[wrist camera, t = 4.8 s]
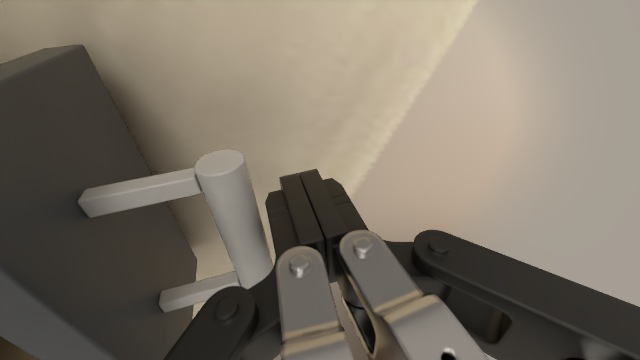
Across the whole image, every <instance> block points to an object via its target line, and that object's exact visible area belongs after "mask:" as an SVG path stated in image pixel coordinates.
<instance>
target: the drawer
mask: <svg viewBox="0 0 640 360" xmlns="http://www.w3.org/2000/svg"><path fill="white" fill-rule="evenodd" d="M201 190H202V191H203V193H204V196H205V198H206V200H207V203H208V205H209V208H210V210H211V213H212V215H213V217H214V220H215V222H216V225H217V227H218V230H219V232H220V235H221V237H222V239H223V242H224V244H225V247H226V249H227V252H228V254H229V256H230V259H231V261H232V264H233V266H234V269H235V271H233V272H229V273H226V274H222V275H218V276H215V277H211V278H207V279H204V280H200V281H197V282H195V281H196V269H197V259H196V257H195V255H194V253H193V251H192V249H191V247H190V246H189V244H188V242H187V240H186V238H185V236H184V234H183V232H182V230H181V229H180V227H179V225H178V223H177V221H176V219H175V217H174V215H173V213H172V212H171V210H170V208H169V206H168V204H167V202H166V201H170V200H174V199H179V198H184V197H188V196H193V195H197V194H201ZM273 267H274V266H273V263H272V259H271V255H270V251H269V248H268V244H267V240H266V236H265V233H264V229H263V225H262V221H261V218H260V214H259V210H258V206H257V203H256V199H255V195H254V191H253V188H252V184H251V180H250V176H249V173H248V169H247V165H246V161H245V158H244V155H243V154H242V153H241V152H240V151H237V150H233V149H222V150H217V151H213V152H210V153H208V154H206V155H204V156H202V157H201V158H200V159H198V160H197V162H196V163H195V165H194V168H189V169H184V170H179V171H174V172H169V173H164V174H159V175H154V176H152V174H151V172H150V170H149V168H148V166H147V164H146V162H145V161H144V159H143V157H142V155H141V153H140V151H139V149H138V147H137V145H136V144H135V142H134V140H133V138H132V136H131V134H130V132H129V130H128V128H127V127H126V125H125V123H124V121H123V119H122V117H121V115H120V113H119V111H118V109H117V108H116V106H115V104H114V102H113V100H112V98H111V96H110V94H109V92H108V91H107V89H106V87H105V85H104V83H103V81H102V79H101V77H100V75H99V74H98V72H97V70H96V68H95V66H94V64H93V62H92V60H91V58H90V57H89V55H88V53H87V51H86V49H85V47H84V46H83V45H73V46H63V47H54V48H45V49H41V50H39V51H36V52H33V53H31V54H28V55H25V56H22V57H20V58H17V59H14V60H12V61H9V62H6V63H3V64H1V65H0V360H163V359H164V358H165V356H166V355H167V354H168V352H169V351H170V350H171V348H172V347H173V346H174V344H175V343H176V342H177V340H178V339H179V338H180V336H181V335H182V334H183V332H184V331H185V329H186V328H187V327H188V325H189V324H190V323H191V321H192V316H193V304H197V303H200V302H204V301H207V300H208V299H209V298H210V297H211V296H212V295H213V294H215V293H216V292H217V291H219V290H221V289H223V288H226V287H230V286H242V287H244V288H246V289H249V288H251V287H252V286H254V285H255V284H257V283H259V282H260V281H262V280H263V279H264V278H265V277H266V276H268V274H269V273H270V272H271V270H272V269H273Z"/></svg>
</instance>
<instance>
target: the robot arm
mask: <svg viewBox="0 0 640 360" xmlns="http://www.w3.org/2000/svg"><path fill="white" fill-rule="evenodd" d="M279 179H280V184H281V189H282V190H279V191H274V192H270V193H269V194H268V197H267V199H266V202H265V204H266V209H267V213H268V218H269V223H270V228H271V233H272V238H273V243H274V248H275V253H276V261H275V265H274V267H273V269H272V270H271V272H270V273H269V274H268V276H266V277H265V278H264V279H263V280H262V281H260V282H259V283H257V284H255V285H254V286H252V287H251V288H249V289H246V288H244V287H241V286H230V287H226V288H223V289H221V290H219V291H217V292H216V293H215V294H213V295H212V296H211V297H210V298H209V299H208V300H207V301H206V303H205V304H204V305H203V307H202V308H201V309H200V311H199V312H198V313H197V315H196V316H195V317H194V319H193V320H192V321H191V323H190V324H189V325H188V327H187V328H186V329H185V331H184V332H183V334H182V335H181V336H180V338H179V339H178V340H177V342H176V343H175V344H174V346H173V347H172V348H171V350H170V351H169V352H168V354H167V355H166V356H165V358H164V359H163V360H273V359H274V358H275V357H276V356H278V355H279V354H280V353H281V360H353V357H352V354H351V350H350V346H349V342H348V339H347V336H346V333H345V330H344V328H343V327H342V326H341V324H340V320H339V317H338V313H337V309H336V305H335V302H334V298H333V295H332V291H331V287H330V283H333V282H336V281H337V282H338V284H339V287H340V290H341V298H342V302H343V305H344V307H345V309H346V311H347V313H348V316H349V318H350V320H351V322H352V324H353V326H354V329H355V330H356V333H357V335H358V337H359V339H360V341H361V343H362V346H363V348H364V350H365V352H366V354H367V356H368V359H369V360H489V359H488V357H487V356H486V355H485V354H484V353H486V354H488V355H490V356H491V357H493V358H495V359H497V360H640V307H638V306H635V305H633V304H630V303H628V302H625V301H622V300H620V299H617V298H615V297H612V296H609V295H607V294H604V293H602V292H599V291H596V290H594V289H591V288H588V287H586V286H583V285H581V284H578V283H575V282H573V281H570V280H568V279H565V278H563V277H560V276H557V275H555V274H552V273H549V272H547V271H544V270H542V269H539V268H537V267H534V266H531V265H529V264H526V263H524V262H521V261H518V260H516V259H513V258H511V257H508V256H505V255H503V254H500V253H498V252H495V251H492V250H490V249H487V248H485V247H482V246H479V245H477V244H474V243H471V242H469V241H466V240H464V239H461V238H459V237H456V236H453V235H451V234H448V233H445V232H443V231H438V230H426V231H423V232H421V233H419V234H418V235H417V236H416V237H415V239H414V242H390V241H385V240H382V239H381V237H380V236H378V235H377V234H375V233H373V232H371V231H369V230H368V228H367V227H366V225H365V223H364V222H363V220H362V218H361V217H360V215H359V213H358V212H357V210H356V208H355V207H354V205H353V203H352V202H351V200H350V198H349V197H348V195H347V194H346V192H345V190H344V188H343V186H342V185H341V184H340V183H338V182H337V181H335V180H334V179H332V178H330V179H326V180H322V178H321V176H320V174H319V172H318V170H317V169H313V170H309V171H304V172H300V173H296V174H291V175H287V176H282V177H279ZM329 282H330V283H329Z"/></svg>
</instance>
